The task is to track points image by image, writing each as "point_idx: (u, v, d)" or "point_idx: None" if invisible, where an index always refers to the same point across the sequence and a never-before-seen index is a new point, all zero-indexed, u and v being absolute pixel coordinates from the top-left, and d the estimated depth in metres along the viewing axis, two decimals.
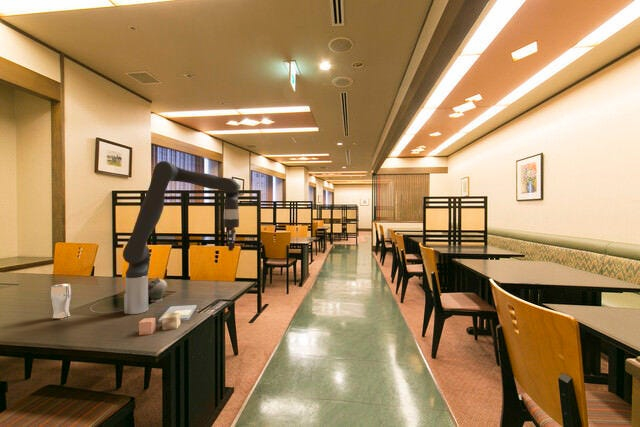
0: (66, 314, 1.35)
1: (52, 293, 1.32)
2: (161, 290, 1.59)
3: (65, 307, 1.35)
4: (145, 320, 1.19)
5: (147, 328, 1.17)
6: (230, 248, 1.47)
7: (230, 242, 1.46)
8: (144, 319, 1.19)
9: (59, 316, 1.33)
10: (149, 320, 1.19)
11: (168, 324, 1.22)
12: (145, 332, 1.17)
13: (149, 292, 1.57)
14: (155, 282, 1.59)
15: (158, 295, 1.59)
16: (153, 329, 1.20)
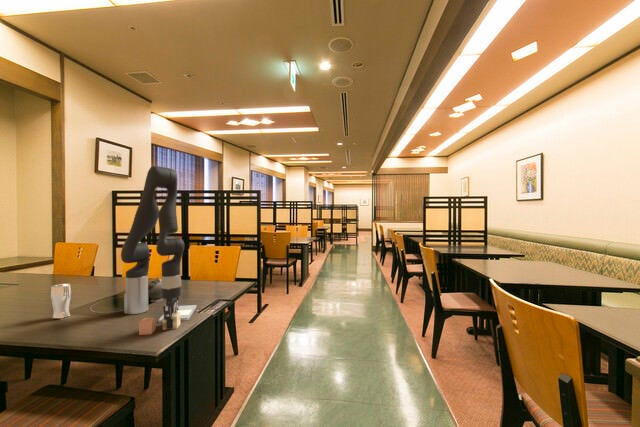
0: (66, 314, 1.35)
1: (52, 293, 1.32)
2: None
3: (65, 307, 1.35)
4: (145, 320, 1.19)
5: (147, 328, 1.17)
6: (168, 326, 1.21)
7: (168, 319, 1.20)
8: (144, 319, 1.19)
9: (59, 316, 1.33)
10: (149, 320, 1.19)
11: None
12: (145, 332, 1.17)
13: (149, 292, 1.57)
14: (155, 282, 1.59)
15: (158, 295, 1.59)
16: (153, 329, 1.20)
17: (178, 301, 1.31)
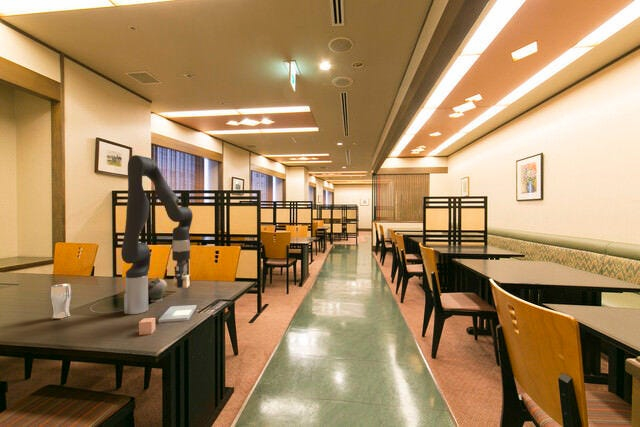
0: (66, 314, 1.35)
1: (52, 293, 1.32)
2: (161, 290, 1.59)
3: (65, 307, 1.35)
4: (145, 320, 1.19)
5: (147, 328, 1.17)
6: (179, 285, 1.34)
7: (178, 278, 1.33)
8: (144, 319, 1.19)
9: (59, 316, 1.33)
10: (149, 320, 1.19)
11: None
12: (145, 332, 1.17)
13: (149, 292, 1.57)
14: (155, 282, 1.59)
15: (158, 295, 1.59)
16: (153, 329, 1.20)
17: (187, 265, 1.44)
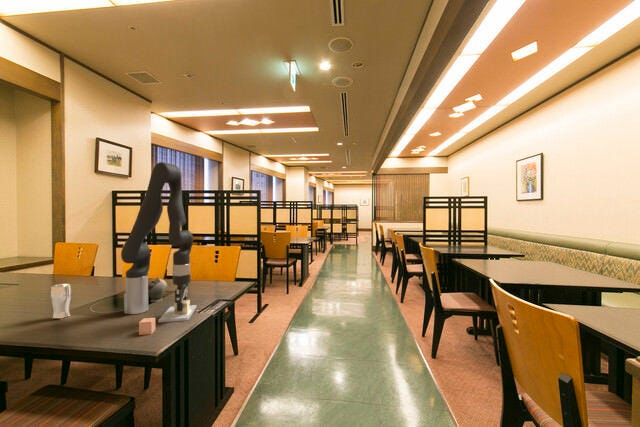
0: (66, 314, 1.35)
1: (52, 293, 1.32)
2: (161, 290, 1.59)
3: (65, 307, 1.35)
4: (145, 320, 1.19)
5: (147, 328, 1.17)
6: (179, 309, 1.33)
7: (178, 303, 1.32)
8: (144, 319, 1.19)
9: (59, 316, 1.33)
10: (149, 320, 1.19)
11: None
12: (145, 332, 1.17)
13: (149, 292, 1.57)
14: (155, 282, 1.59)
15: (158, 295, 1.59)
16: (153, 329, 1.20)
17: (187, 286, 1.44)
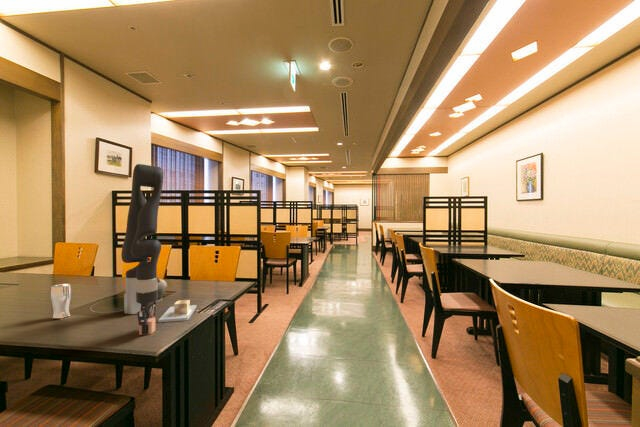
0: (66, 314, 1.35)
1: (52, 293, 1.32)
2: (161, 290, 1.59)
3: (65, 307, 1.35)
4: None
5: None
6: (144, 331, 1.16)
7: (143, 324, 1.15)
8: None
9: (59, 316, 1.33)
10: (149, 320, 1.19)
11: (179, 310, 1.35)
12: None
13: None
14: None
15: (158, 295, 1.59)
16: (153, 328, 1.20)
17: (155, 306, 1.25)
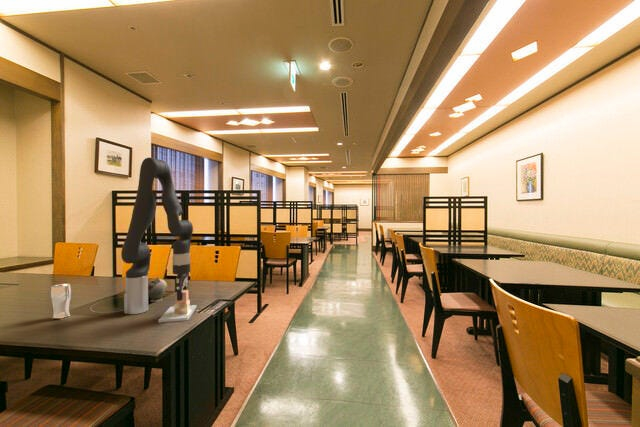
0: (66, 314, 1.35)
1: (52, 293, 1.32)
2: (161, 290, 1.59)
3: (65, 307, 1.35)
4: None
5: (182, 298, 1.36)
6: (178, 298, 1.33)
7: (178, 292, 1.32)
8: None
9: (59, 316, 1.33)
10: (184, 291, 1.37)
11: (179, 310, 1.35)
12: (181, 301, 1.36)
13: (149, 292, 1.57)
14: (155, 282, 1.59)
15: (158, 295, 1.59)
16: (187, 299, 1.38)
17: (187, 276, 1.44)
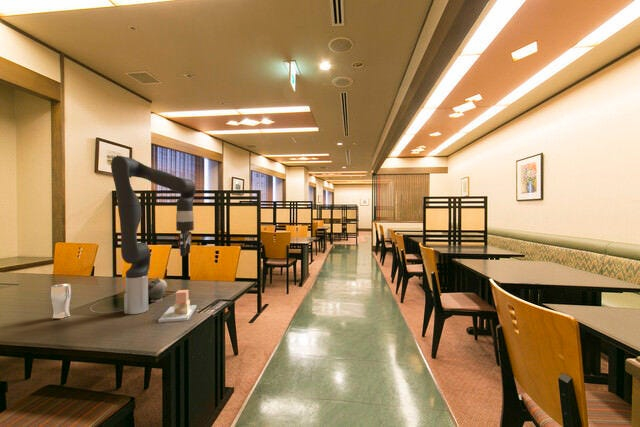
0: (66, 314, 1.35)
1: (52, 293, 1.32)
2: (161, 290, 1.59)
3: (65, 307, 1.35)
4: (180, 291, 1.38)
5: (182, 298, 1.36)
6: (182, 253, 1.35)
7: (182, 247, 1.34)
8: (179, 291, 1.38)
9: (59, 316, 1.33)
10: (184, 291, 1.37)
11: (179, 310, 1.35)
12: (181, 301, 1.36)
13: (149, 292, 1.57)
14: (155, 282, 1.59)
15: (158, 295, 1.59)
16: (187, 299, 1.38)
17: None
